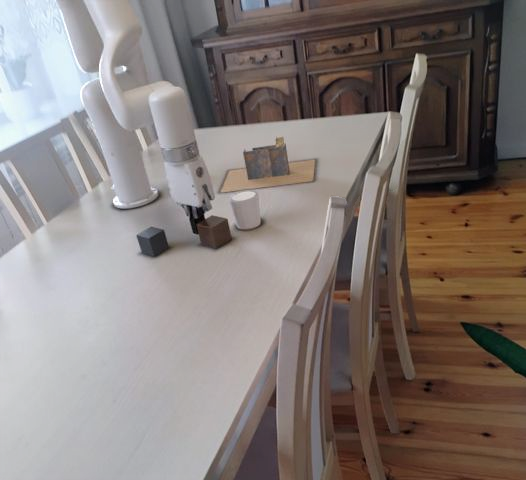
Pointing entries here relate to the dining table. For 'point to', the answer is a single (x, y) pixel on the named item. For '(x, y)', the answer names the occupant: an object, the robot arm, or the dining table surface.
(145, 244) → the charcoal block
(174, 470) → the dining table surface
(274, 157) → the ruin model on sheet
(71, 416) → the dining table surface
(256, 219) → the white cylinder
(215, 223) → the walnut block
